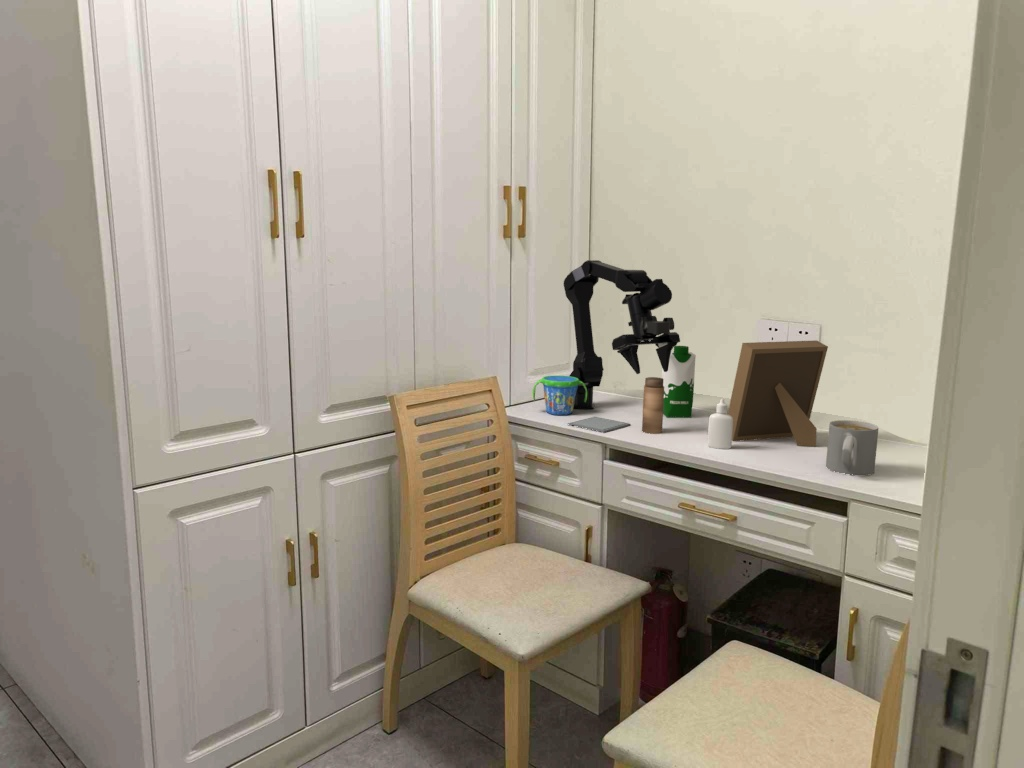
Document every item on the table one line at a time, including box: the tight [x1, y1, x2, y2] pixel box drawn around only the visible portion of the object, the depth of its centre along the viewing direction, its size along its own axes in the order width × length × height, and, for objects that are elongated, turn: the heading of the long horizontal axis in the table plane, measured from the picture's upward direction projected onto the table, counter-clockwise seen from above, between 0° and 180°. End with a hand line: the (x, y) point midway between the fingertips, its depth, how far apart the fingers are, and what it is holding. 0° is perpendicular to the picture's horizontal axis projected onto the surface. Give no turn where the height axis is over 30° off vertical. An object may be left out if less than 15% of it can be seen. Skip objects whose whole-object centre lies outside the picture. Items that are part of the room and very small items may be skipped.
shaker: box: [641, 376, 664, 435], centre depth 210 cm, size 5×5×14 cm
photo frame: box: [727, 339, 829, 447], centre depth 201 cm, size 15×22×25 cm
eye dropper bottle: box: [707, 398, 733, 450], centre depth 195 cm, size 4×6×12 cm
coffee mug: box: [825, 419, 879, 476], centre depth 177 cm, size 13×10×10 cm
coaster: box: [567, 416, 631, 433], centre depth 217 cm, size 12×12×1 cm
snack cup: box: [532, 375, 587, 416], centre depth 231 cm, size 16×10×10 cm
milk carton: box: [661, 345, 697, 418], centre depth 230 cm, size 9×9×20 cm
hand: (652, 372), depth 212 cm, fingers open, 9 cm apart
